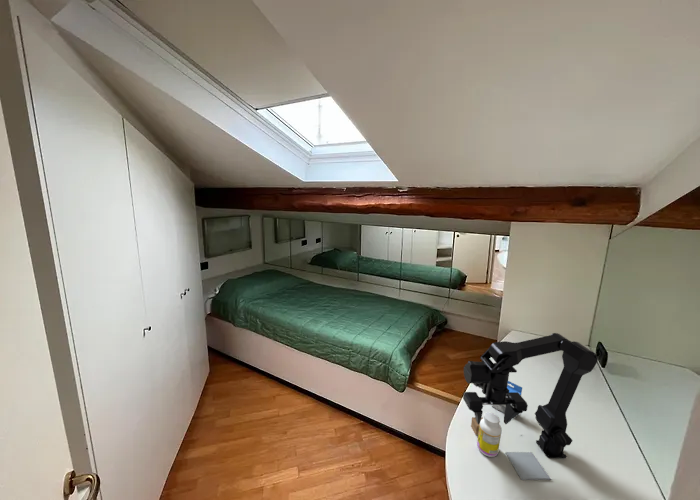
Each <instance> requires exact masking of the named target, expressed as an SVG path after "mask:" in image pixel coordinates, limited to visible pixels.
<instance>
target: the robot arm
mask: <svg viewBox="0 0 700 500" xmlns="http://www.w3.org/2000/svg"><path fill="white" fill-rule="evenodd" d="M555 352H562V355H561V356H562V357H561V358H562V363H563V369H562V371H561V373H560V376H559V377H558V379H557V381H556V384H555V387H554V389H553V390H552V394H551V396H550V399H549V400H548V403H546V404H544V405H541V404H539V405H538V406H537V409H536V411H535V412H534V415H535V420H536V422H537V423H538V425H539V426H540V427H541V428H542V430H541V432H540V435H539V439H536V440H535V443H536V444H537V445H538V447H539V448H540V449H541V451H542V452H543V454H544V455H545V457H546V458H548V459H567V457H568V456H567V455H566V454H565V453H564V449H565V448H566V446H570V445H571V444H572V443H573V439H572V438H571V436H570V435H569V434H568V433H567V427H568V420H567V412H568V410H569V407H570V404H571V402H572V400H573V398H574V395H575V393H576V391H577V389H578V386H579V385H580V383H581V382H580V381H581V380H582V377H583V376H584V375H587V374H589V373H591V372H592V371H593V369H594V368H595V366H596V365H597V364H598V362H599V357H598V355H597V353H595V352H594V351H592V350H591V349H589V348H588V347H587V346H585V345H583V344H582V343H581V342H579V341H571V340H569V339H568V338H567V337H565V336H563V335H562V334H560V333H557V332H553V333H551V334H550V335H545V336H542V337H535V338H532V339H528V340H523V341H517V342H511V341H496V342H492V343H491V344H490V346H489V347H488V349H486V351H485V352H484V353H483V354H482V355H481V356H480V358H479V359H480V360H481V361H473V360H468V361H467V363H466V364H465V365H464V366H463V377H464V379H465V382H466V383H467V384H473V385H474V386H475V387H476V388H477V387H478V388H479V389H481V393H482V394H483V395H485V396H479V395H478V393H477V392H475V391H465V392H463V396H462V399H463V401H464V402H465V405H466V406H467V408H468V409H469V411H472V412H473V413H474V416H475V417H476V421H477V423H478V424H479V423H480V421H481V417H483V412H484V411H483V408H484V406H486V405H487V406H490V405H491V406H492V405H506V408H505V414H504V413H503V414H504V415H503V423H504V424H505V425H507V424H509V423H510V422H511V421H512V420H514V419H513V418H514V417H516V418H517V416H518V415H519V414H522V413H523V412H527V410H528V407H529V406H528V403H527V401H526V400H525V399H524V397H523V396H522V394H521V395H520V394H519V393H518V392H509V390H508V389H507V385H509V384H508V381H509V377H510V373H517V372H518V371H517V369H516V368H515V366H517V365H519V364H520V363H521V361H523V360H526V359H529V358H534V357H538V356H542V355H547V354H551V353H555ZM491 358H492V360H494V362H493V361H492V360H491ZM506 396H507V397H506Z"/></svg>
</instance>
